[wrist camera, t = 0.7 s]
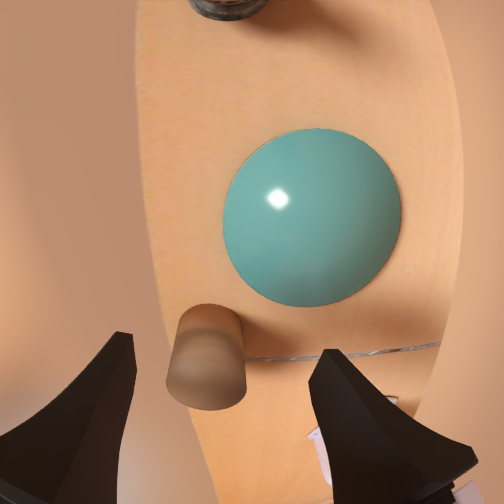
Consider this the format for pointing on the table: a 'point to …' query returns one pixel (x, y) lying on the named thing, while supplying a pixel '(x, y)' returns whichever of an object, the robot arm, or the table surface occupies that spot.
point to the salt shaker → (227, 8)
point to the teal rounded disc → (311, 217)
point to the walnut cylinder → (208, 359)
